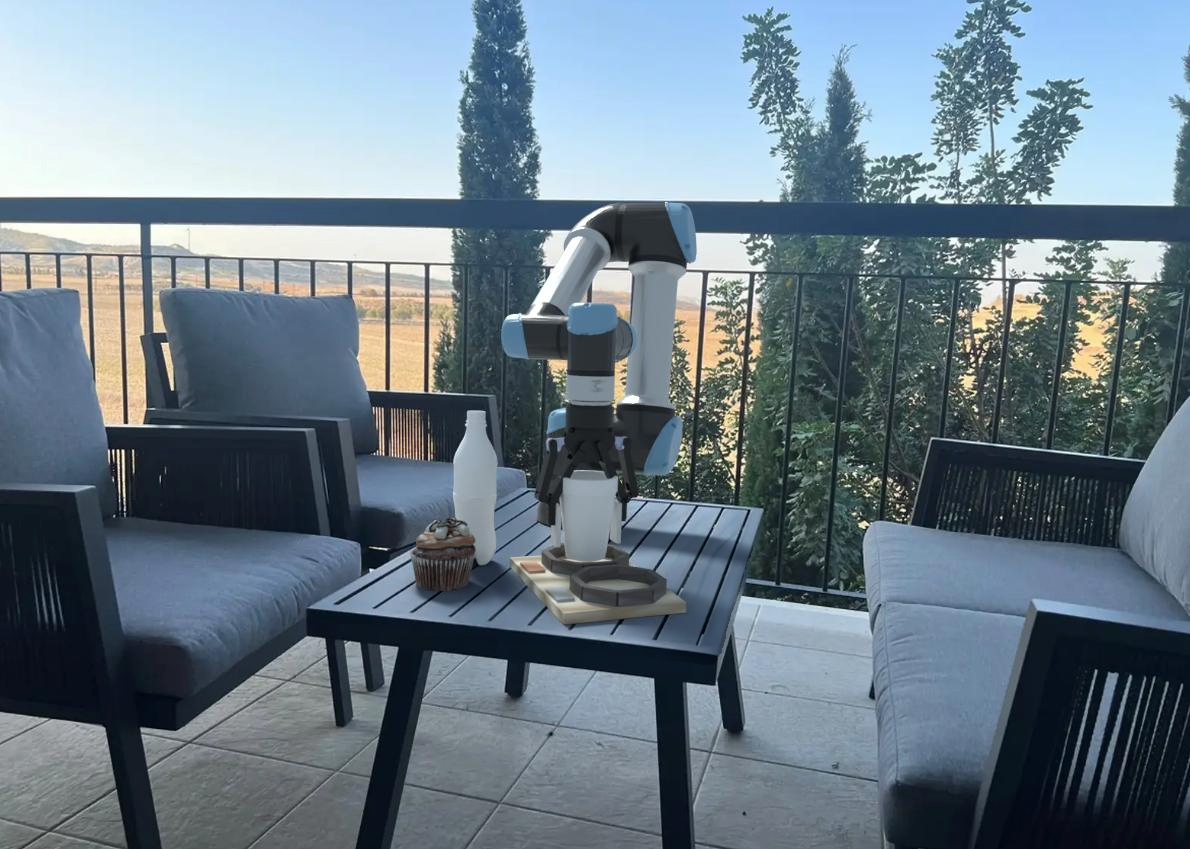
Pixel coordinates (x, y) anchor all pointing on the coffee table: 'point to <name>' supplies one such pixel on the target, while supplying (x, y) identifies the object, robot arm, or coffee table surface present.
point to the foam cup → (587, 514)
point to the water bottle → (476, 485)
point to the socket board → (596, 586)
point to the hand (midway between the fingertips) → (585, 543)
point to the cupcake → (444, 555)
